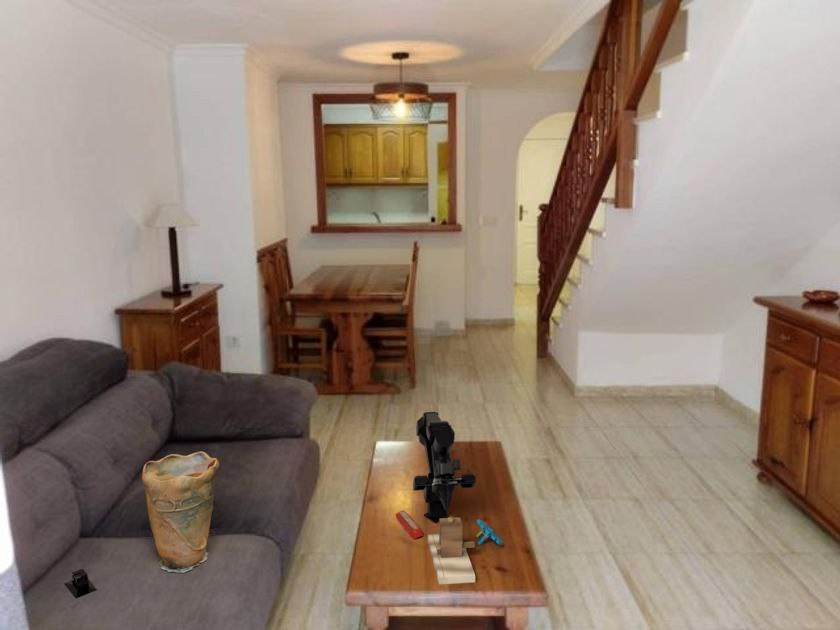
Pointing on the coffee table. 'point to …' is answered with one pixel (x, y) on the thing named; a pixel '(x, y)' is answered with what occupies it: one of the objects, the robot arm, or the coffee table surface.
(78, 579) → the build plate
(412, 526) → the candy bar
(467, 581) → the pine board
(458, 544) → the tan knobbed block
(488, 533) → the gear
